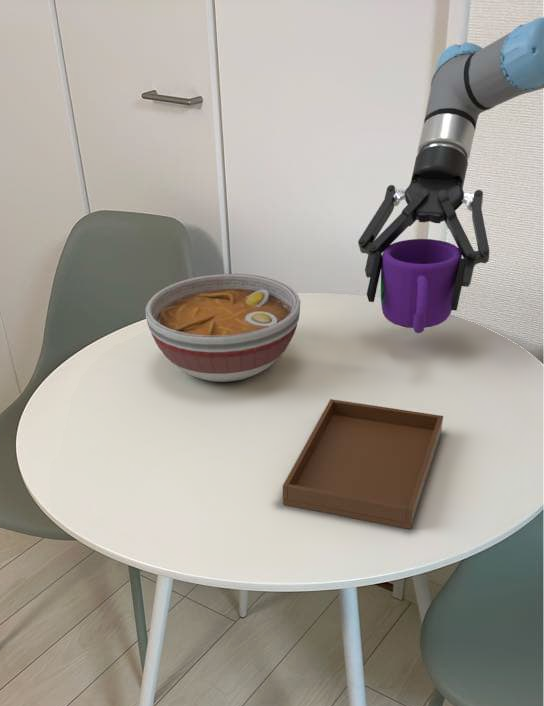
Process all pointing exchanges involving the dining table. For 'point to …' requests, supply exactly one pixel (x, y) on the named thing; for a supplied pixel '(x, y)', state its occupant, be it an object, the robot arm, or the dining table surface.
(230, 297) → the bowl
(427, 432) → the tray
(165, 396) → the dining table surface
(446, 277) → the mug
